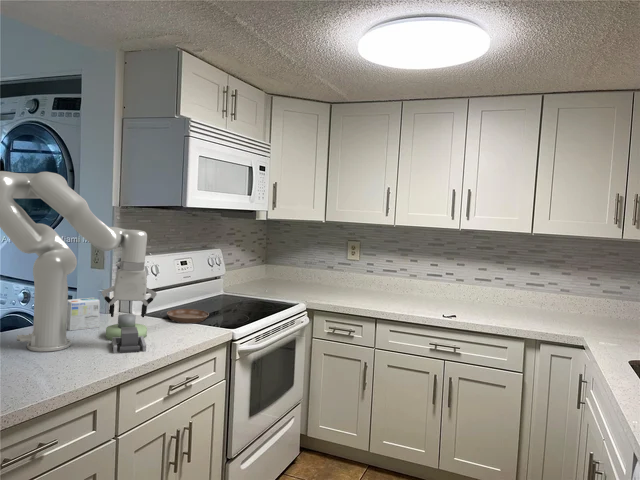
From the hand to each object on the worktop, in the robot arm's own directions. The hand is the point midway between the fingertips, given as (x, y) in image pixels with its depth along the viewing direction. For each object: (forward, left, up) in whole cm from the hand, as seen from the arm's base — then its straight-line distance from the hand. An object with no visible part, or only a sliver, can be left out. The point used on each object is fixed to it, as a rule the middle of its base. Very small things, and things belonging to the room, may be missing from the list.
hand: (127, 316), depth 158 cm
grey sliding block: (+1, 0, -11) cm, 11 cm away
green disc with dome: (+1, +8, -11) cm, 13 cm away
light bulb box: (-14, +29, -11) cm, 34 cm away
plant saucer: (+27, +36, -11) cm, 46 cm away
